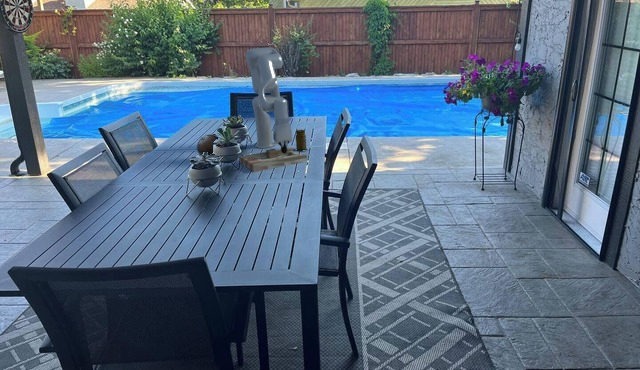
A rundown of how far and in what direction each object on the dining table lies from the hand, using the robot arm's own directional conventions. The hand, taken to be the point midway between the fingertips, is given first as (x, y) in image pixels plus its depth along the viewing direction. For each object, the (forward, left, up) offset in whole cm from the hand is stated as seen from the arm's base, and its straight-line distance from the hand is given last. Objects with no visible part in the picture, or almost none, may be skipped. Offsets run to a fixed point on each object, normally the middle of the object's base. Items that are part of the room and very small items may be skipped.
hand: (284, 152), depth 276 cm
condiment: (-10, +17, -4) cm, 20 cm away
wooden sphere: (-24, -35, -3) cm, 43 cm away
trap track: (+4, -8, -3) cm, 10 cm away
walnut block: (0, -7, -1) cm, 8 cm away
